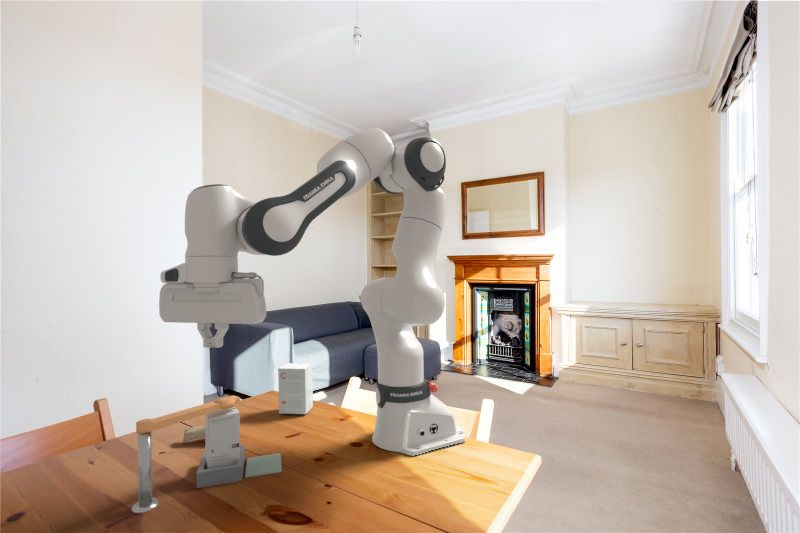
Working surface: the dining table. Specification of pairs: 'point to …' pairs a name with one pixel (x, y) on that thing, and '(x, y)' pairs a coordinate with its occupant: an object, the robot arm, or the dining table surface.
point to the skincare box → (222, 438)
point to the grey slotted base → (220, 472)
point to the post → (145, 475)
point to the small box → (295, 388)
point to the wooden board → (186, 414)
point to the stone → (194, 433)
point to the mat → (263, 465)
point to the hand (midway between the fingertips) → (213, 347)
